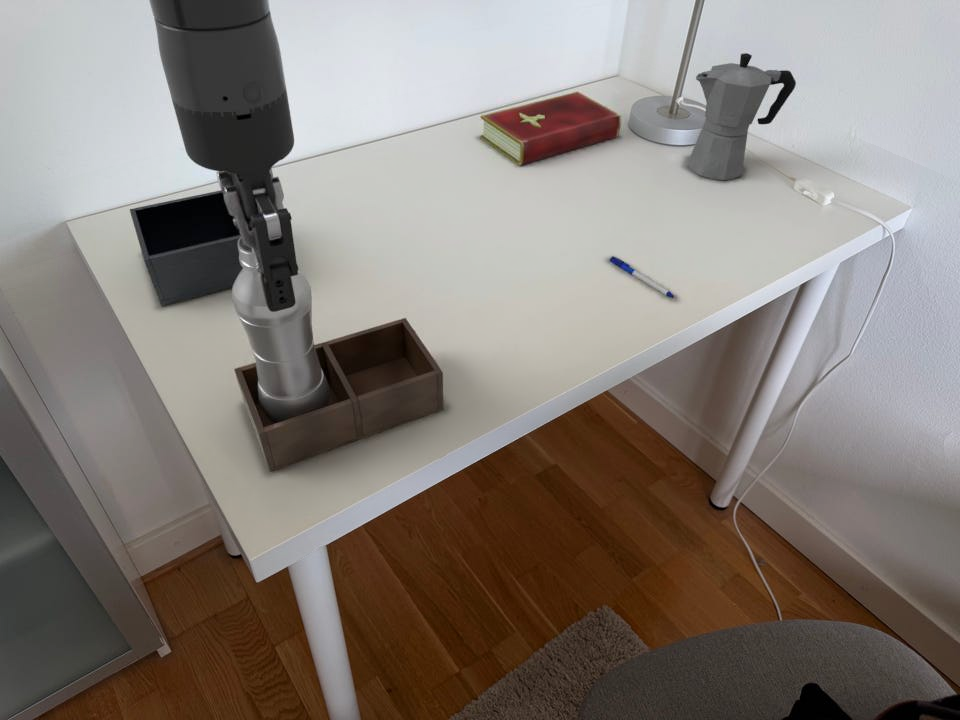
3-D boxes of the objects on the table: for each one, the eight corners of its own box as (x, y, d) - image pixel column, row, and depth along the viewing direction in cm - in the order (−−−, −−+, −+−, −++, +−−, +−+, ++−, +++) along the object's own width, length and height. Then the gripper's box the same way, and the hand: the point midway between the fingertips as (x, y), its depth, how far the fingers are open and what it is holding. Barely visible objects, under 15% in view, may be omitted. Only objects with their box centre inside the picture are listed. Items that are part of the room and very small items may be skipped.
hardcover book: (618, 137, 120) (622, 114, 117) (520, 166, 111) (522, 142, 108) (575, 112, 127) (578, 89, 124) (480, 137, 118) (480, 114, 115)
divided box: (269, 471, 65) (258, 434, 61) (245, 406, 71) (233, 368, 67) (443, 409, 71) (443, 372, 68) (407, 354, 77) (405, 317, 74)
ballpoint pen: (607, 262, 92) (608, 256, 91) (611, 259, 92) (613, 253, 92) (670, 299, 86) (672, 293, 86) (675, 296, 87) (676, 290, 86)
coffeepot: (682, 181, 109) (712, 65, 96) (667, 154, 115) (693, 42, 103) (777, 181, 109) (818, 66, 97) (757, 154, 116) (793, 43, 104)
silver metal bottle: (326, 437, 66) (295, 265, 52) (255, 434, 66) (206, 262, 52) (337, 389, 71) (312, 220, 57) (271, 387, 71) (230, 217, 57)
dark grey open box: (161, 306, 82) (143, 259, 78) (145, 254, 90) (129, 209, 86) (262, 280, 87) (251, 234, 82) (239, 233, 95) (228, 188, 90)
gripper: (152, 57, 50) (207, 252, 61) (191, 137, 40) (247, 350, 52) (256, 44, 52) (290, 233, 64) (315, 116, 43) (342, 322, 55)
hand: (271, 285), depth 58 cm, fingers closed on silver metal bottle, 6 cm apart
